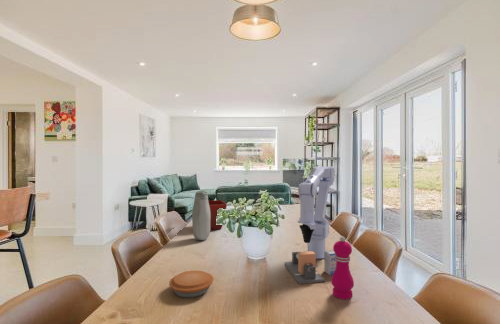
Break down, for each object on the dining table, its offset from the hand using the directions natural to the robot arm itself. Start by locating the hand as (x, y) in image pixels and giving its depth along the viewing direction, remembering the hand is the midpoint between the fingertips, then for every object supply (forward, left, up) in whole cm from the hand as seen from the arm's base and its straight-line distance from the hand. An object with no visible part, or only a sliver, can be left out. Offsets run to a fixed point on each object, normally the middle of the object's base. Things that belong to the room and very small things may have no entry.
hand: (306, 242), depth 120 cm
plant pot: (-73, -41, -11) cm, 85 cm away
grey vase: (-47, -46, -11) cm, 67 cm away
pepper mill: (+26, +3, -11) cm, 28 cm away
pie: (+14, -48, -11) cm, 51 cm away
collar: (+10, -4, -8) cm, 14 cm away
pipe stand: (+6, -4, -10) cm, 12 cm away
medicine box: (+8, +9, -11) cm, 16 cm away
